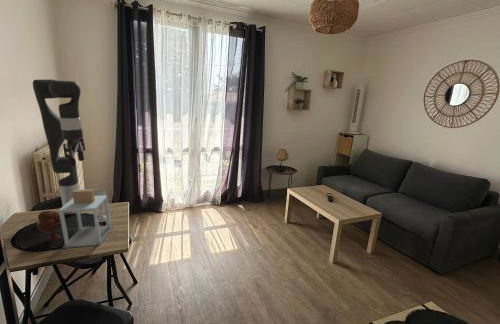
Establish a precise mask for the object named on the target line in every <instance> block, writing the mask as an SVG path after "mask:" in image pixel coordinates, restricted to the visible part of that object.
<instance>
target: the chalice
mask: <svg viewBox="0 0 500 324" xmlns="http://www.w3.org/2000/svg"><path fill="white" fill-rule="evenodd" d="M92 189H93V191H94V196H105V195H107V193H106V191H107V188H105V187H96V188H92ZM103 206H105V202H103V203H102V204H101V205H100V206H99V213H100V216H99V215H98V221H99V223H104V222H107V217H106V214H104V211H103Z"/></svg>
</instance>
